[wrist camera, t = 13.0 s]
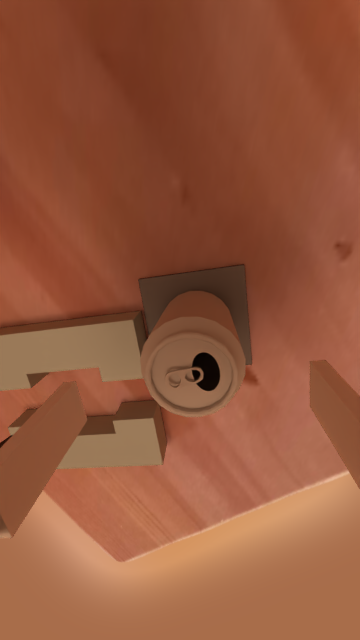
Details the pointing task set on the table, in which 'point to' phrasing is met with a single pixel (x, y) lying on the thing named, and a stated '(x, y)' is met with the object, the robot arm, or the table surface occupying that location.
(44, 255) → the table surface
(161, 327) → the can
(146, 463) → the pocket block
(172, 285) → the coaster
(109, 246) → the table surface
